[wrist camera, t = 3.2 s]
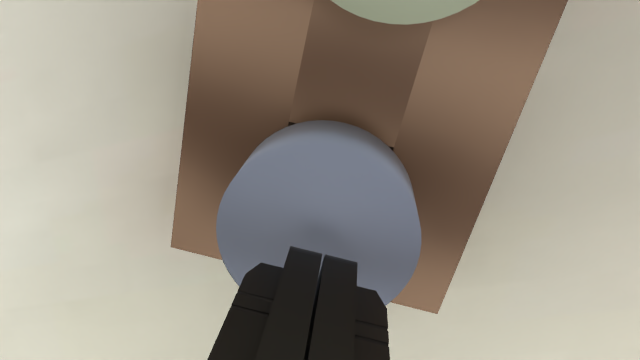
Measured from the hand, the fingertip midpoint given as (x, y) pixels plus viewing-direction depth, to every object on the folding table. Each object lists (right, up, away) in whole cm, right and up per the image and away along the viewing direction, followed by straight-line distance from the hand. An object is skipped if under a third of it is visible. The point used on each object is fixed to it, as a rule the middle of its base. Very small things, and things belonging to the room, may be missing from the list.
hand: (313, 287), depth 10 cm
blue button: (+1, +3, +6) cm, 7 cm away
